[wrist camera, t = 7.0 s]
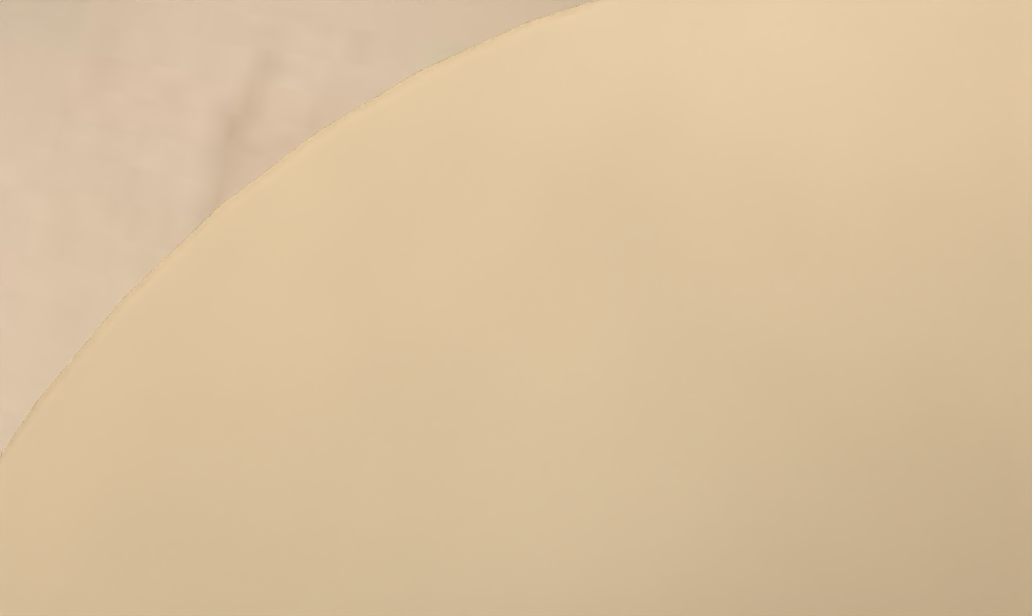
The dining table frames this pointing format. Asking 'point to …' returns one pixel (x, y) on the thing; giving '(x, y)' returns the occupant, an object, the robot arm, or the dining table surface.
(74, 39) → the dining table surface
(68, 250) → the dining table surface
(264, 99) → the dining table surface
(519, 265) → the cheese shaker
